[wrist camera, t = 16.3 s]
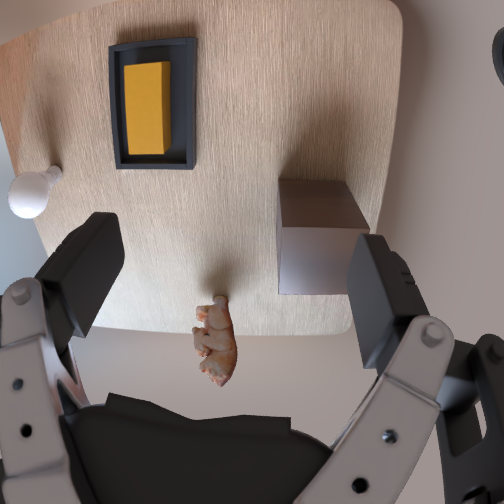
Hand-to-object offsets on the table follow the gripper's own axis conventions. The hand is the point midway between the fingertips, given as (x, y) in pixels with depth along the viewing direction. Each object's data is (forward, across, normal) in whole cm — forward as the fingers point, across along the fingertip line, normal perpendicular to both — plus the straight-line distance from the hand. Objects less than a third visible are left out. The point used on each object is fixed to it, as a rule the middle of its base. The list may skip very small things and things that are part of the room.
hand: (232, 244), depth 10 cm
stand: (+30, -8, +14) cm, 34 cm away
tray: (+30, +13, 0) cm, 32 cm away
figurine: (+30, +5, +34) cm, 45 cm away
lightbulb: (+29, +30, +10) cm, 43 cm away
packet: (+29, +13, 0) cm, 32 cm away
